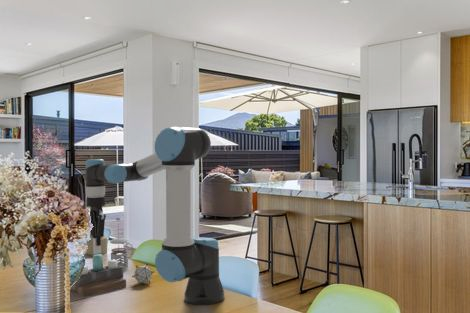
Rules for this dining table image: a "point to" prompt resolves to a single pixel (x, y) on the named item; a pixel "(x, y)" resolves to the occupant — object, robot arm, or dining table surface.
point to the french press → (120, 250)
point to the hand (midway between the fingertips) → (97, 253)
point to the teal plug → (97, 262)
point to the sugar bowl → (103, 245)
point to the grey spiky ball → (143, 274)
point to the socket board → (100, 281)
